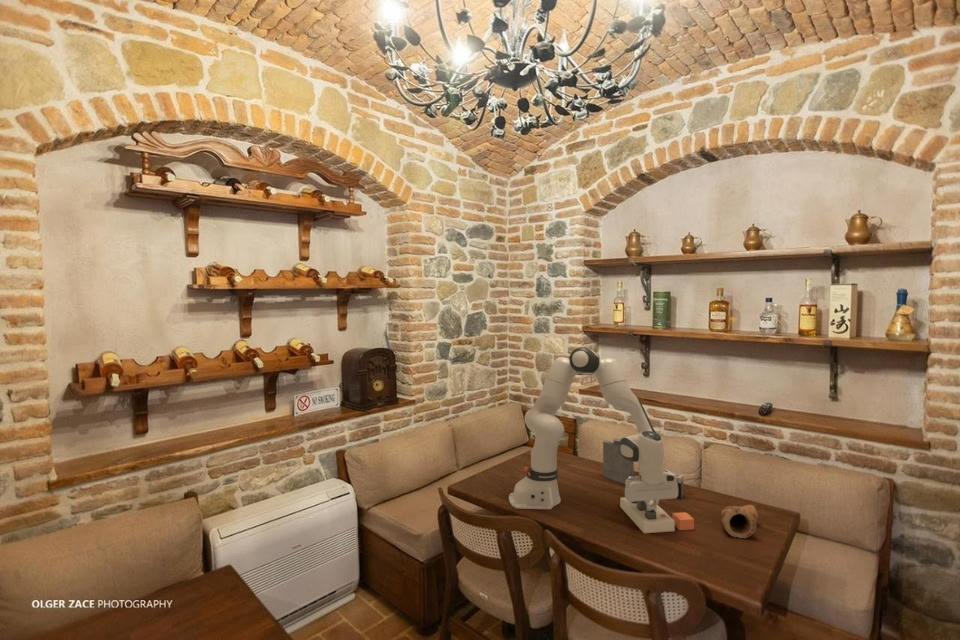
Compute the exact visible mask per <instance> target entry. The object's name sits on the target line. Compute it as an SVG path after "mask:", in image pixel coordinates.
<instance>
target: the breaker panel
mask: <svg viewBox="0 0 960 640" xmlns="http://www.w3.org/2000/svg"><path fill="white" fill-rule="evenodd" d="M619 501H620V504H619V505H620V506H619V507H620V508H621V509H622V511H623V512H624V513H625V514H626V515H627V516H628V517H629V518H630V519H631V520H632V521H633V523H634V524H635V525H636V526H637V527H638V528H639V530H640V531H641V532H642V533H644V534H651V533H653V534H654V533H666V532H667V533H668V532H669V533H670V532H675V528H676V526H675V521H674V520H673V519H672V516H670V515H669V514H668V513H667V512H666V511H665V510H664V509H662V507H660V506H659V505H658V504H657V506H656V511H655V512H656V519H650V520H648V519H647V518H646V517H645V511H639V510H638V508H637V503H632V502H630V501H628V500H627V499H626V497H625V496H624V497H622V496H621V497H620V500H619ZM653 502H654V500H650V503H649V505H652V504H653Z"/></svg>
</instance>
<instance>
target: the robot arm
mask: <svg viewBox="0 0 960 640" xmlns="http://www.w3.org/2000/svg"><path fill="white" fill-rule="evenodd" d="M577 375H579V376H581V375H582V376H592V375H594V376H595V378H596V379H597V383H598V386H599V388H600V392H601V395H602V397H603V399H604V401H605V402H607V404H609V405H611V406H613V407H616V408H619V409H623V410H624V411H626V412H627V413H628V414H629V415H631V418H632V420H633V423H634V425H635V426H636V429H637V431H638V433H637V434H632V435H631V434H630V435H627V436H624V437H622V438H621V440H620V442H619V452H620V454H621V456H622V457H623V458H624V459H626V460H628V461H632V462H634V463H635V462H636V463H638V464H639V465H638V466H639V467H638V471H639V472H638V475H634V476H630V477H629V478H627V479H626V480H625V484H624V485H625V488H624V497H626V499H627V500H628V501H630V502H634V501H644V502H645V503H646V505H647V510H648V511H656V506H657V505H658V504H659V503H660V500H669V499H677V496H678V484H677V482H676V479H677V477H676V476H675V475H674V474H673V473H674V472H672V471H670V470H668V469H666V468H665V467H664V464H663V462H664V459H665V458H664V457H665V456H664V455H665V454H664V452H665V450H664V448H665V447H664V442H663V441H664V440H663V438H662V436H661V435H660V434H658V433H657V432H656V430H655V428H654V427H653V425H652V423H651V420H650V419H649V417H648V414H647V412H646V410H645V408H644V406H643V404H642V402H641V400H640V399H639V397H638V396H637V395H636V394H635V393H634V392H633V391H632V390H631V387H630V386H629V384H628V381H627V377H626V376H625V373H624V370H623V368H622V367H621V365H620V364H619V362H618V360H617V359H615V358H613V357H607V358H606V357H605V358H601V357H600V355H599V354H598V353H596V352H595V351H594V350H593V349H590V348H587V347H583V346H582V347H577V348H575V349H574V350H572V351H571V353H570V355H569V358H567V357H563V356H561V357H560V356H559V357H557V358H556V359H554V360H553V362H552V364H551V366H550V368H549V370H548V373H547V375H546V378H545V380H544V383H543V386H542V388H541V392H540V394H539V396H538V397H537V399H536V400H535V403H534V404H533V406H532V407H531V408H530V409H528V410H527V411H526V413H525V415H524V422H525V424H526V426H527V429H529V431H530V432H531V433H534V436H535V441H534V444H533V447H532V448H531V451H530V467H528V466H524V467H523V470H524V472H525V473H526V476H525V477H523V478H522V479H521V480H519V481H518V482H517V483H516V484H515V485H514V489H513V492H510V493H509V495H508V502H509V504H510V505H511V507H513V508H514V509H517V510H518V509H520V510H521V509H522V510H552V509H553V508H555V506H557V505H559V504H560V503H561V501H562V499H561V496H560V492H559V487H558V481H559V470H558V467H557V466H558V465H557V464H558V462H557V461H558V458H557V457H558V456H557V455H558V454H557V453H558V449H559V448H558V446H559V444H560V441H561V439H562V438H563V437H564V435H565V426H564V424H563V423H562V421H561V420H560V419H559V418H558V417H556V416H555V415H556V413H557V412H558V410H559V409H560V407H562V406H563V405H565V403H566V401H567V398H568V395H569V392H570V388H571V386H572V383H573V380H574V378H575V377H576V376H577ZM650 500H653V501H654V502H653V504H652V505H649V503H650Z"/></svg>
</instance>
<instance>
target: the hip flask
mask: <svg viewBox="0 0 960 640" xmlns="http://www.w3.org/2000/svg"><path fill="white" fill-rule="evenodd" d="M621 439H622V438H621ZM621 439H620V438H614V439H612V441H611V440H607V439H606V440H603V441H602V456H603V457H602V460H603V461H602V464H603V465H602V466H603V467H602V470H603V471H602V475H603V476H604V477H603V478H605V477H606V479H608V480H610V479H611V481H613V480H614V482H616V481H617V483H619V482H620V484H623V483H624V485H625V480H626V479H627V478H629V477H630V476H635V475H634V472H635V471H634V469H635V465H634V463H635V462H632V461H628V460H626V459H624V458H623V457H622V456H621V454H620V452H619V442H620V440H621Z"/></svg>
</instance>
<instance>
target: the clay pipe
mask: <svg viewBox="0 0 960 640" xmlns="http://www.w3.org/2000/svg"><path fill="white" fill-rule="evenodd" d="M720 516H721V523H722V525H723V527H724V530H725V531H726V532H727V534H728V535H730V536H732V537H733V538H736V537H739V538H738V539H740V538H744V539H748V538H750V537H752V535H753V534H754V533H755V532H756V530H757V523H758V520H759V516H760V515H759V513H758V510H757V509H756V508H755V506H754V505H752V504H746V505H743V506H737V505H733V506H732V505H728V506H725V507H724V509H722V510H721V512H720Z"/></svg>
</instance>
